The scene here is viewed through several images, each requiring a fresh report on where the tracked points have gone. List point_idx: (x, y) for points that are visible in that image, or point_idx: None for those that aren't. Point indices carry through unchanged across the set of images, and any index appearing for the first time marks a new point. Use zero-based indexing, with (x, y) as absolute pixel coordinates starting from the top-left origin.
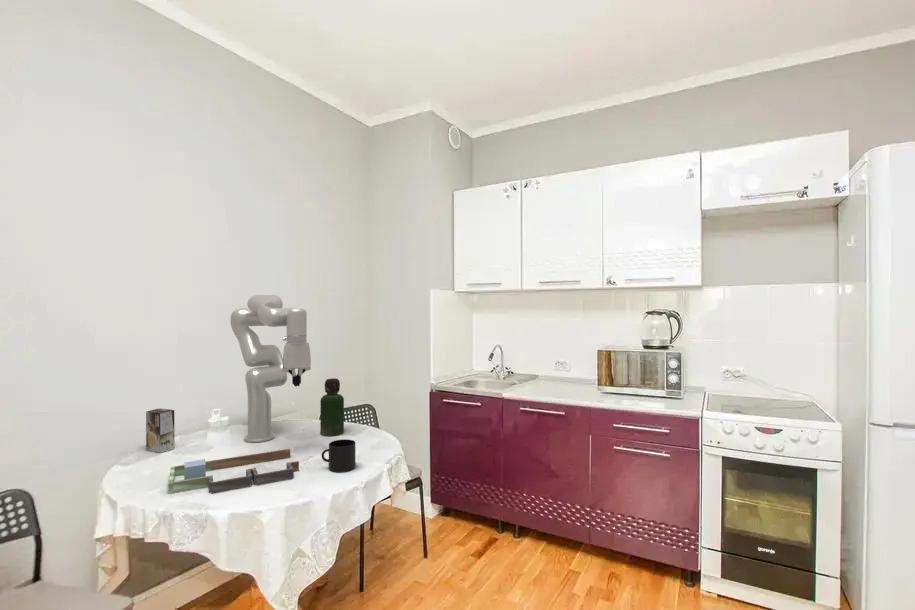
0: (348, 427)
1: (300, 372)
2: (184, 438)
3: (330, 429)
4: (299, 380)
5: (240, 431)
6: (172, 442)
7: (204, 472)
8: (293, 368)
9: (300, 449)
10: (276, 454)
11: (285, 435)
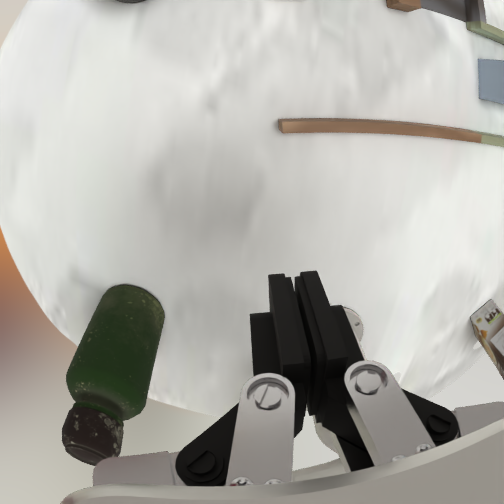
0: None
1: (269, 423)
2: (436, 368)
3: (130, 298)
4: (275, 315)
5: None
6: (480, 322)
7: (494, 60)
8: (453, 446)
9: (235, 194)
10: (326, 120)
11: None
